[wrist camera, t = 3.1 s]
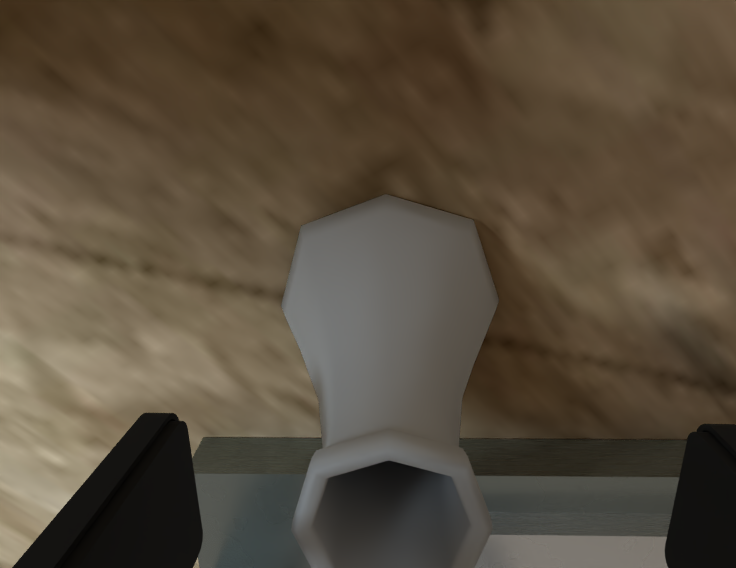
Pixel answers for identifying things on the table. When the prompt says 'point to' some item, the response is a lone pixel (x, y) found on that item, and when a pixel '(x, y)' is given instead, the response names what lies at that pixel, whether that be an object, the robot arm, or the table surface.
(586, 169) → the table surface
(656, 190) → the table surface
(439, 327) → the flask
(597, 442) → the scale
